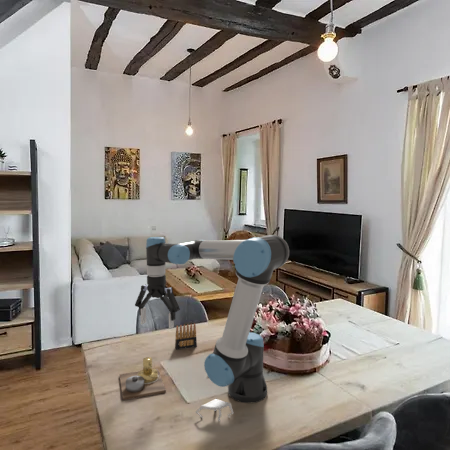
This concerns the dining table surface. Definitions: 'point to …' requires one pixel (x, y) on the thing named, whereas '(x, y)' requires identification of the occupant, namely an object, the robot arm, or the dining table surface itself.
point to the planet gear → (148, 371)
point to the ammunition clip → (185, 337)
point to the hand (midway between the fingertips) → (157, 325)
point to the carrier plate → (146, 389)
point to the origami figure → (215, 407)
